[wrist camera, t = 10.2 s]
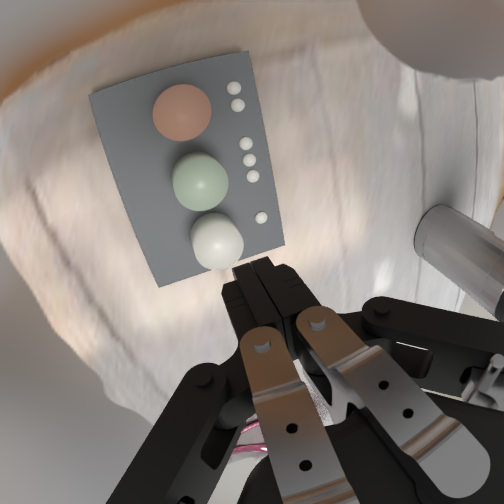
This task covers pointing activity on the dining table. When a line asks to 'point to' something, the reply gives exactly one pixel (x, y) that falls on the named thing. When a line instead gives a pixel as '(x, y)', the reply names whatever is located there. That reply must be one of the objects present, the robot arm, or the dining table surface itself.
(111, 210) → the dining table surface
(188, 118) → the terracotta button
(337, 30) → the dining table surface
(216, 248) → the cream button
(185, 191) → the sage button
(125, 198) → the charcoal panel
